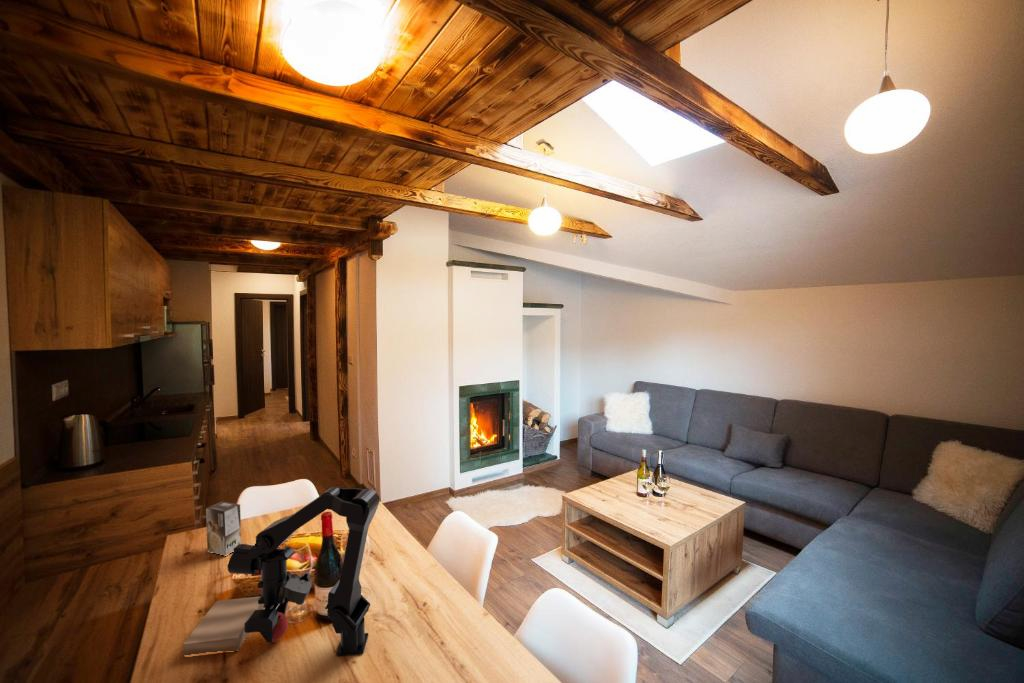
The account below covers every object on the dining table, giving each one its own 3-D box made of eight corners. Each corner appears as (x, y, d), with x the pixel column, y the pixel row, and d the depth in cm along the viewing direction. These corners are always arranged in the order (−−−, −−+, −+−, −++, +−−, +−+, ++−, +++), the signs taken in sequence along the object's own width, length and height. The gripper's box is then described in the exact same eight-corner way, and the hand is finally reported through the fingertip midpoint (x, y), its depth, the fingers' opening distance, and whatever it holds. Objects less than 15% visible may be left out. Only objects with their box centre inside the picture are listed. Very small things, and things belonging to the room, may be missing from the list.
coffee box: (242, 547, 152) (241, 504, 151) (225, 557, 146) (224, 511, 145) (223, 543, 154) (222, 500, 154) (206, 552, 148) (204, 508, 147)
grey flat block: (238, 653, 104) (237, 637, 104) (183, 660, 102) (183, 644, 102) (263, 609, 120) (263, 596, 120) (217, 614, 118) (216, 600, 118)
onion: (282, 629, 112) (281, 599, 112) (292, 639, 108) (291, 609, 108) (258, 641, 107) (257, 611, 107) (267, 653, 104) (266, 621, 103)
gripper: (293, 594, 99) (294, 659, 100) (319, 551, 117) (320, 606, 118) (242, 598, 97) (243, 663, 98) (276, 554, 116) (277, 609, 117)
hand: (275, 633), depth 108 cm, fingers closed on onion, 6 cm apart
